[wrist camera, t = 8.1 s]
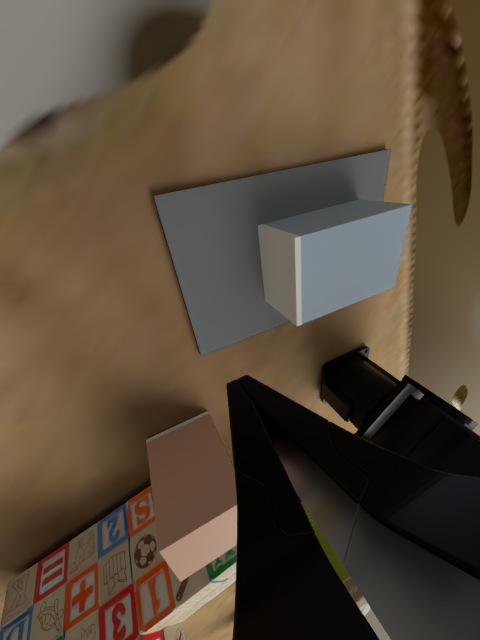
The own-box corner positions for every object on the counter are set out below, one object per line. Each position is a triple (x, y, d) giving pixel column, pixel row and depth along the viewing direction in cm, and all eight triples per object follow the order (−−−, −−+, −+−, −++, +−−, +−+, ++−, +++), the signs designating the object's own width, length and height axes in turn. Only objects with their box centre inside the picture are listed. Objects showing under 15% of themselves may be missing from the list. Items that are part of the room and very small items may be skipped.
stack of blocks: (204, 444, 26) (268, 609, 17) (227, 461, 30) (287, 600, 21) (5, 583, 23) (-45, 864, 14) (60, 580, 27) (49, 795, 19)
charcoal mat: (386, 149, 19) (391, 149, 19) (366, 289, 26) (369, 290, 26) (153, 195, 15) (153, 195, 14) (200, 353, 21) (201, 355, 21)
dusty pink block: (145, 439, 23) (159, 551, 15) (207, 410, 25) (247, 498, 17) (161, 469, 25) (180, 581, 17) (217, 440, 27) (257, 531, 19)
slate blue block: (257, 225, 18) (358, 199, 20) (265, 300, 21) (351, 270, 23) (294, 238, 14) (412, 204, 16) (296, 326, 17) (394, 287, 20)
